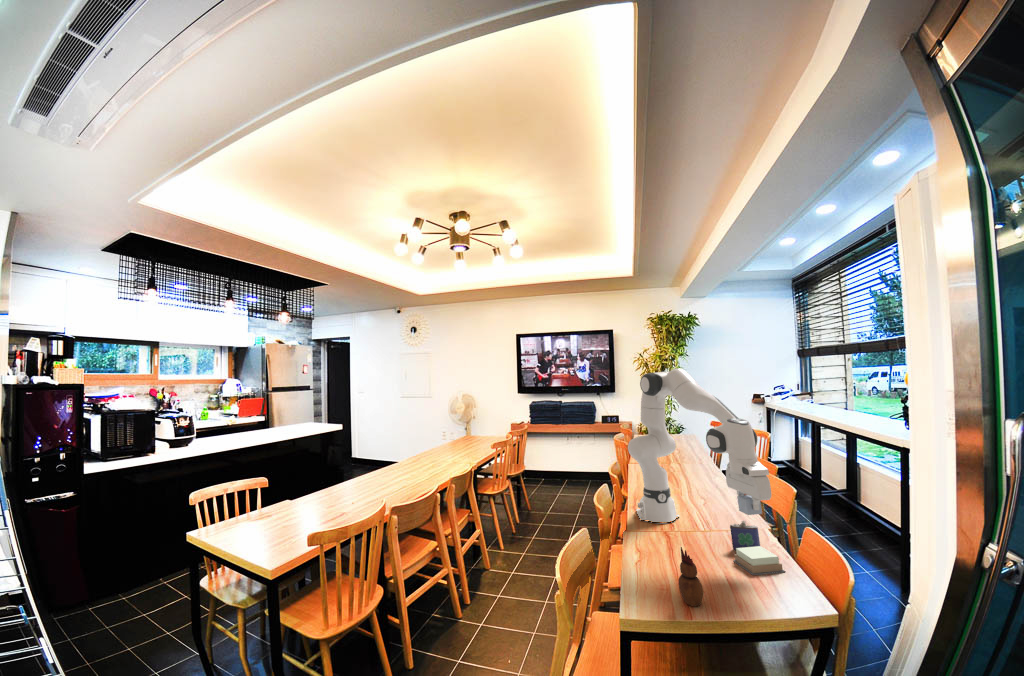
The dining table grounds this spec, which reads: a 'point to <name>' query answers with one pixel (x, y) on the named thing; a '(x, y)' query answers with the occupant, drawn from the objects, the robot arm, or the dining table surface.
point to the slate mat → (758, 573)
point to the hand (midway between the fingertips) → (749, 507)
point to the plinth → (759, 568)
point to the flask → (744, 536)
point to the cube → (747, 505)
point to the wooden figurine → (689, 581)
